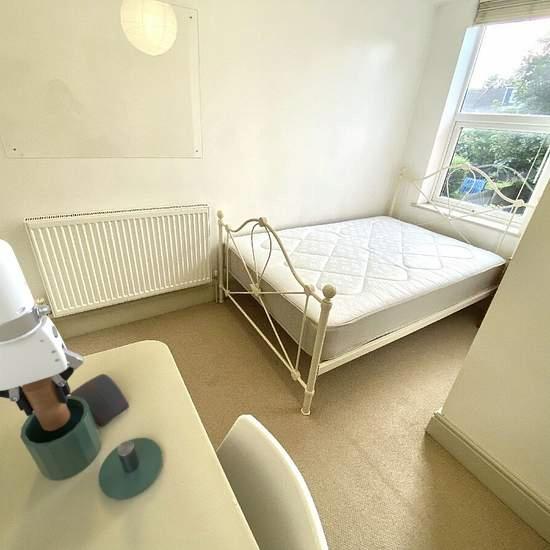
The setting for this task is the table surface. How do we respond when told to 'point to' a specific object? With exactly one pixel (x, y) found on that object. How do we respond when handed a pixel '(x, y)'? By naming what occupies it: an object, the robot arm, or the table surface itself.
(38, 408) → the brown cylinder
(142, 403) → the table surface
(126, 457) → the tin lid
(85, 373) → the table surface
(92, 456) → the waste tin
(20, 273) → the robot arm
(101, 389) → the dark grey flat block
